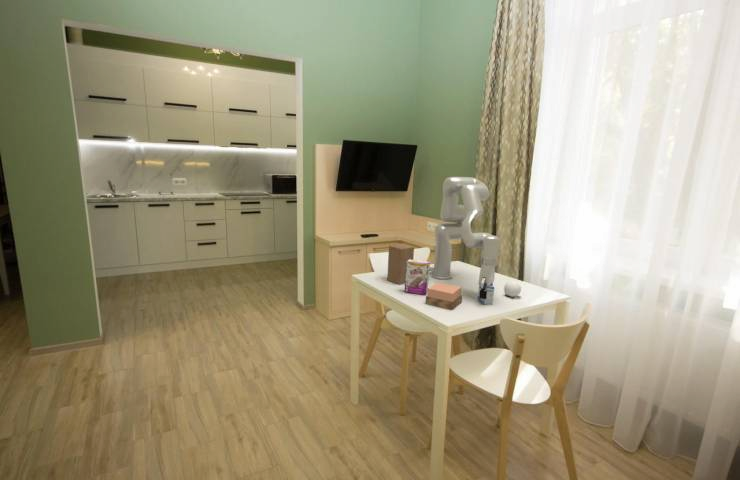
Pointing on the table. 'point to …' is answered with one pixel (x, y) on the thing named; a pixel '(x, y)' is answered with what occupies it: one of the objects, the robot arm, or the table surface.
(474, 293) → the table surface
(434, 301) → the tower bottom
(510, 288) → the ball
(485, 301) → the medicine box
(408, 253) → the wooden block
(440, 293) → the tower top
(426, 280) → the candy bar box
